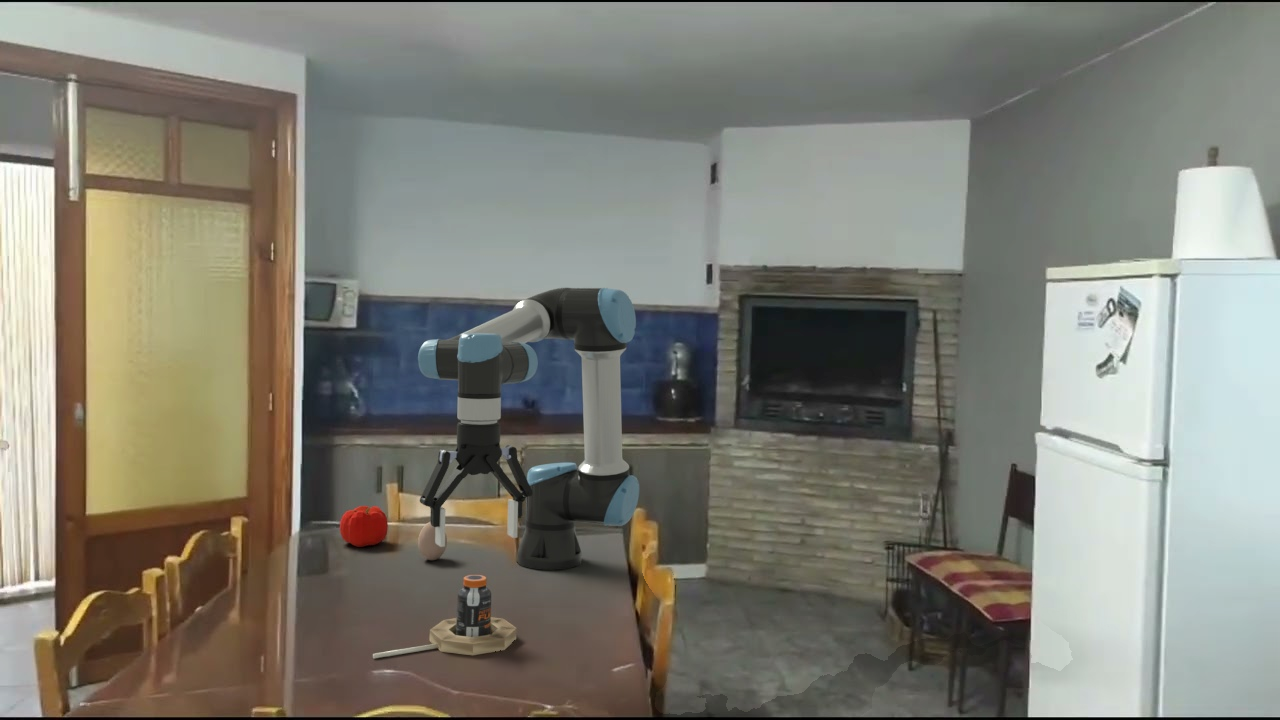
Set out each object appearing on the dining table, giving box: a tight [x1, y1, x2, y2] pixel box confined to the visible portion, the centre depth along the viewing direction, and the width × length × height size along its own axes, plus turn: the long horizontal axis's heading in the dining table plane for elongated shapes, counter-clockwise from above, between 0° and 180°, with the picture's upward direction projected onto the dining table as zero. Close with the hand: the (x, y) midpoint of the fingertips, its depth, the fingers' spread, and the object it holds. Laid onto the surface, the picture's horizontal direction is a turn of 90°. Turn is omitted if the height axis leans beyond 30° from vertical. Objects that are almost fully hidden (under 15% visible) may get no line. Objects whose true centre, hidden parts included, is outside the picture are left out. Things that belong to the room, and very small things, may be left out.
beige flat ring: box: [429, 616, 518, 656], centre depth 166 cm, size 14×14×2 cm
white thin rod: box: [372, 643, 438, 660], centre depth 159 cm, size 11×1×1 cm, turn 122°
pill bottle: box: [456, 574, 492, 637], centre depth 166 cm, size 6×6×11 cm
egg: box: [417, 521, 448, 561], centre depth 219 cm, size 7×7×9 cm
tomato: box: [339, 505, 389, 548], centre depth 231 cm, size 11×12×9 cm
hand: (476, 540), depth 166 cm, fingers open, 13 cm apart
